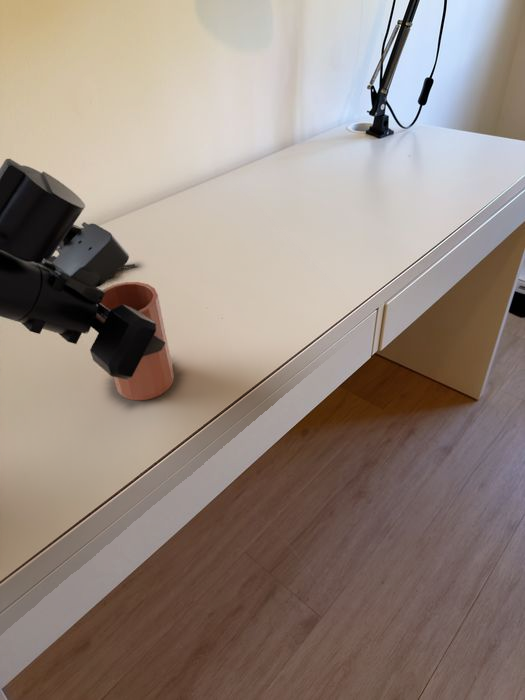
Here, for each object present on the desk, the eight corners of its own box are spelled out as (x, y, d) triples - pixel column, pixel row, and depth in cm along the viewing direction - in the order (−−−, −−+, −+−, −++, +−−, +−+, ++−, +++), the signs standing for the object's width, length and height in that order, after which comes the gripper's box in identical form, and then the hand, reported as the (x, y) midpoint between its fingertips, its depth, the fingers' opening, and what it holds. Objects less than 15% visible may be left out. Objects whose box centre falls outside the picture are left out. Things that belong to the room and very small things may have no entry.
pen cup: (121, 407, 61) (96, 324, 54) (112, 371, 66) (88, 290, 59) (180, 390, 63) (163, 307, 56) (166, 356, 68) (149, 276, 61)
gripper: (115, 244, 43) (230, 301, 55) (18, 187, 53) (132, 245, 66) (54, 365, 43) (180, 394, 56) (-30, 284, 54) (92, 323, 67)
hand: (144, 332), depth 61 cm, fingers closed on pen cup, 7 cm apart
